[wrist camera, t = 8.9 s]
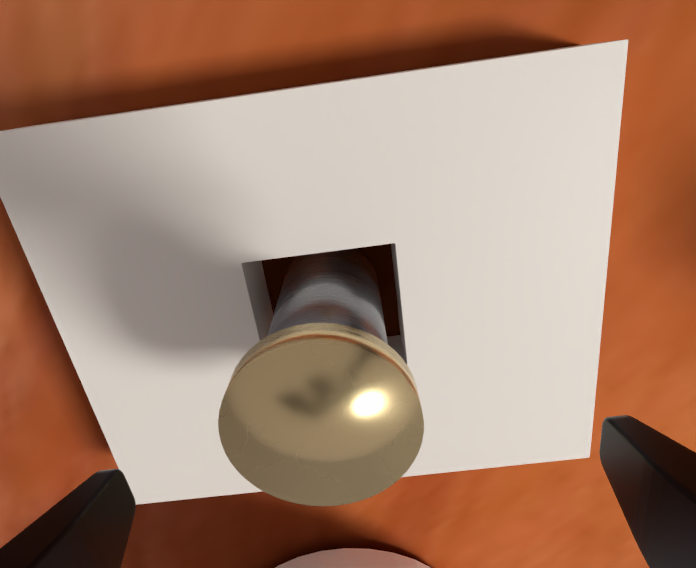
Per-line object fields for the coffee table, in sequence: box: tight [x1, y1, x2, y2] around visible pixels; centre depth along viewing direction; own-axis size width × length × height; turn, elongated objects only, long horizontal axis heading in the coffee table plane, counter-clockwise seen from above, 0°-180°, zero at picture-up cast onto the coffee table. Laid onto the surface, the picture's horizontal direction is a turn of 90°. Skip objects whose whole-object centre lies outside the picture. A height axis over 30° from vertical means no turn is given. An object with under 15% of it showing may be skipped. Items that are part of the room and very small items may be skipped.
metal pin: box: [218, 248, 424, 506], centre depth 16 cm, size 5×5×9 cm
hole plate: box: [0, 39, 628, 505], centre depth 19 cm, size 20×16×3 cm
